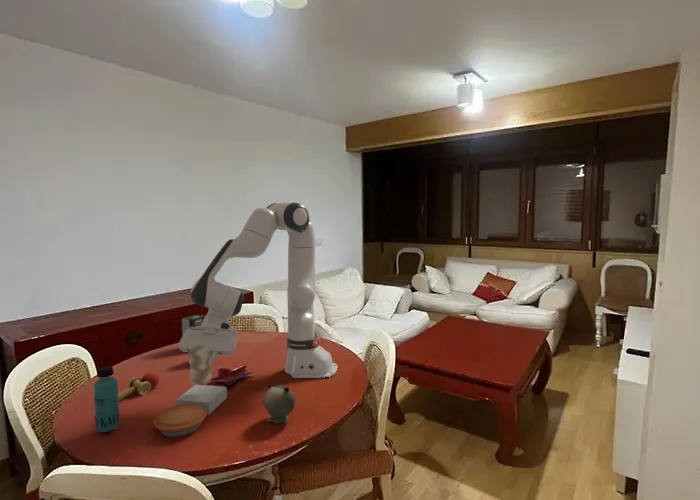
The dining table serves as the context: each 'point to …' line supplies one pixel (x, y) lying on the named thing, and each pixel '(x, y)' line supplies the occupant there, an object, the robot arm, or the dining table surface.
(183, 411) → the pie
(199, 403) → the grey base block
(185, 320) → the coffee box
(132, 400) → the dining table surface
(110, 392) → the beverage bottle
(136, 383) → the kendama
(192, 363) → the ash block
